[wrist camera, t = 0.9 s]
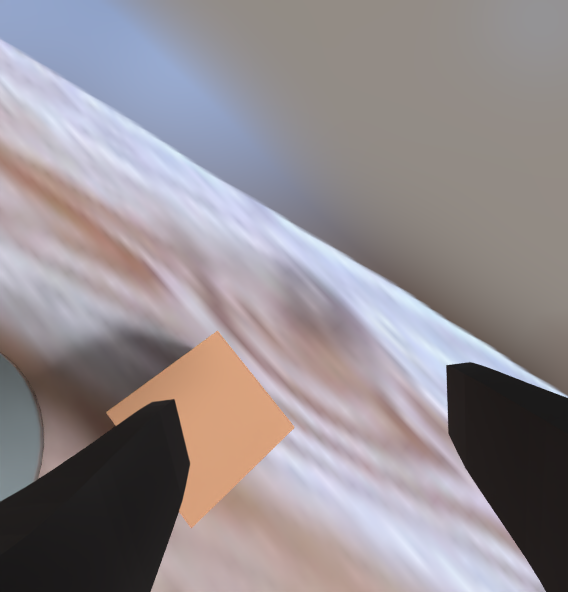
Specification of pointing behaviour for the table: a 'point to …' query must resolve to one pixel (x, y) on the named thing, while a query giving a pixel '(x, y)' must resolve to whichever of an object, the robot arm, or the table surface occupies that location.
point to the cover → (213, 420)
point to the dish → (18, 430)
